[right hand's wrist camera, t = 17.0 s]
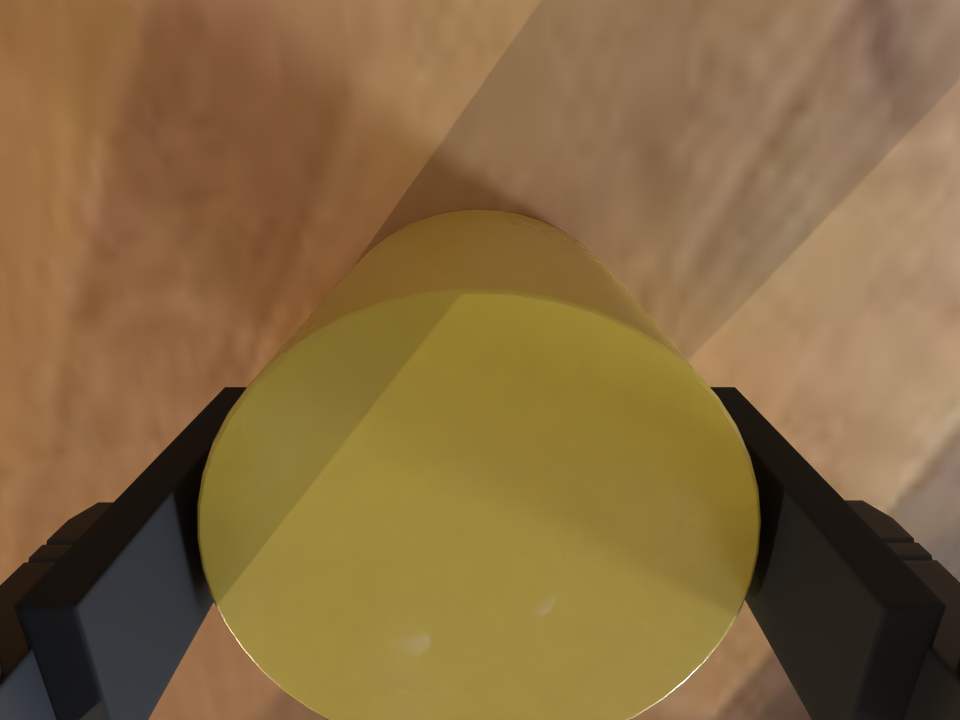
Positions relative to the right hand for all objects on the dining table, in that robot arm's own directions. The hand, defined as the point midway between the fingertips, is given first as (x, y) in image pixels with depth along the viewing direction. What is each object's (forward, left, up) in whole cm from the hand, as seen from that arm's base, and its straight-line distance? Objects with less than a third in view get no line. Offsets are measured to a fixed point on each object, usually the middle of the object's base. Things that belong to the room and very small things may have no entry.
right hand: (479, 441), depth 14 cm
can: (0, 0, -4) cm, 4 cm away
